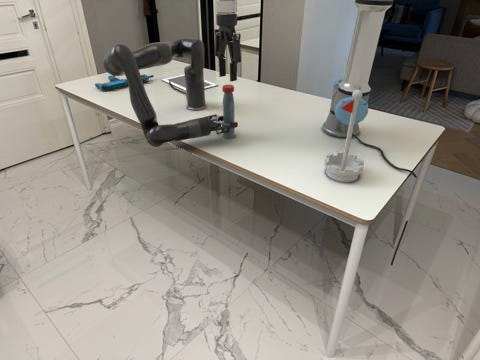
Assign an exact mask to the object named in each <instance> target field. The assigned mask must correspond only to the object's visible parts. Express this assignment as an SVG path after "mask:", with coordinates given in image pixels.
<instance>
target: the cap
mask: <svg viewBox="0 0 480 360" xmlns="http://www.w3.org/2000/svg"><path fill="white" fill-rule="evenodd" d="M221 91H222V93H224V92H225V93H231V92H232V93H234V92H235V86H234V85H233V84H223V85H222V90H221Z"/></svg>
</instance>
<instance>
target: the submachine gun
mask: <svg viewBox="0 0 480 360" xmlns="http://www.w3.org/2000/svg"><path fill="white" fill-rule="evenodd" d="M140 75H141V78H142V82H143V83H145V82H146V83H147V81H148V80H150V79H151V78H154V77H155V76H154V74H151V75H147V74H140ZM107 77H108V80H109V82H103V83H100V82H96V83H94V86H95V88H97V89H98V90H100V91H107V90H113V91H114V90H115V89H116V88H120V87H125V86H128V82H127V78H121V79H120V78H118V77H117V76H113V75H108V76H107Z"/></svg>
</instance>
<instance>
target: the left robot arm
mask: <svg viewBox="0 0 480 360" xmlns="http://www.w3.org/2000/svg"><path fill="white" fill-rule="evenodd" d="M179 58H184V59H189V60H190V64H189V65H186V66H184V68H183V72H184V74H185V84H186V91H184V90H182V89H180V88H177V87H176V86H173V85H171V81H170V80H169V83H168V84H169V86H170V87H171V88H172V89H173V90H175V91H177V92H179V93H181V94H184V95H186V107H187V109H188V110H192V111H200V110H204V109H205V108H206V107H207V105H206V103H207V100H206V93H205V90H206V89H204V80H205V76H204V68H205V46H204V42H203V41H202V40H201V39H200V38H195V37H187V36H186V37H182V38H178V39H176V40H173V41H159V42H158V41H157V42H151V43H148V44H145V45H143V46H141V47H139V48H137V49H134V50H133V51H132V49H131V48H130V47H129V46H127V45H126V44H124V43H117V44H115V45H113V46H112V47H111V49H109V51H108V52H106V54H105V55H104V57H103V60H102V67H103V69H104V71H105V72H106V73H107V74H109V75H110V76H112V75H113V76H115V77H122V76H125V79H127V82H128V85H127V87H128V92H129V100H130V104H131V107H132V110H133V112H134V114H135V117H136V118H137V120H138V122H139V123H140V127H141V129H142V133H143V134H144V137H145V139H146V142H147V144H149V145H150V146H151V147H153V148H158V147H159V148H160V147H161V146H162V145H164V144H167V143H170V142H174V141H175V142H182V141H186V140H191V139H192V140H193V139H197V138H202V137H208V136H210V135H211V133H212V132H215V133H216V135H222V134H224V133H228V132H230V129H232V128H235V129H236V128H238V127H239V123H238V122H237V121H235V122H233V123H229V124H228V123H224V122H223V115H217V113H215V114H211V115H205V116H203V117H198V118H192V119H188V120H185V121H180V122H176V123H168V124H167V123H166V124H159V122H158V119H157V118H158V117H157V113H156V111H155V109H154V107H153V104H152V102H151V100H150V99H149V96H148V93H147V91H146V88H145V85H144V82H142V78H141V75H142V74H141V72H140V71H141V70H144V69H150V68H155V67H156V68H157V67H161V66H166V65H168V64H170V63H171V62H172V61H173V60H174V59H179ZM184 74H183V75H184Z"/></svg>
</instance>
